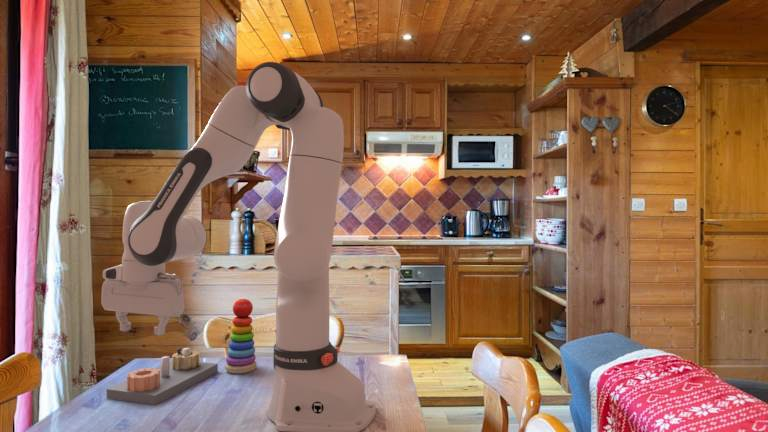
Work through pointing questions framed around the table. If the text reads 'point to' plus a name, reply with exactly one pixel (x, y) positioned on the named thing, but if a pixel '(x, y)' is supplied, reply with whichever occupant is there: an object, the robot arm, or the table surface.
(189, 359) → the gear
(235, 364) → the stacking toy
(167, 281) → the robot arm
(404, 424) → the table surface
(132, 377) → the loose gear
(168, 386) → the gear board
